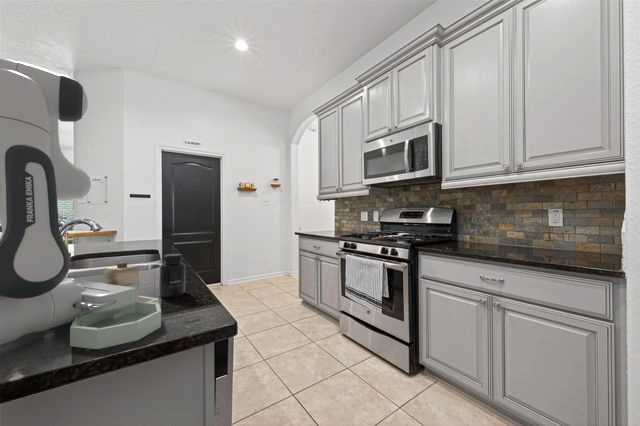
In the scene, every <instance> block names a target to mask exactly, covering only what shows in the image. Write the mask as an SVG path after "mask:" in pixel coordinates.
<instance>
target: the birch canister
mask: <svg viewBox="0 0 640 426" xmlns="http://www.w3.org/2000/svg"><path fill="white" fill-rule="evenodd" d="M103 273H104V274H103V275H104V276H103V283H106V284H113V285H121V286H128V284H132V283H135V284H139V285H140V266H139V265H134V264H128V262H127V261H126V262H125V261H123V262H117V263H116V265H115V266H110V267H109V266H108V267H104V269H103ZM139 294H140V288H139V289H138V291H136V301H138V302H139V296H140V295H139Z"/></svg>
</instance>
